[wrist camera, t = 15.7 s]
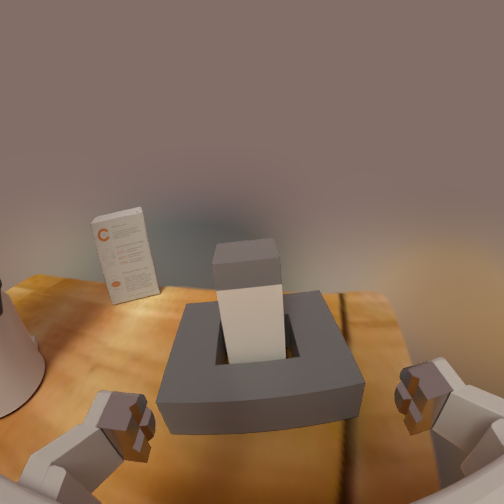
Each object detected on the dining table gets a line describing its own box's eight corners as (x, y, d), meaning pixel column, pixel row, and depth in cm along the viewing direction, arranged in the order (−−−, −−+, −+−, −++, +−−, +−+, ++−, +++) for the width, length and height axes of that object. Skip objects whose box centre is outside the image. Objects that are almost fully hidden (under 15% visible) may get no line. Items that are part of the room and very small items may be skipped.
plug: (234, 390, 24) (212, 264, 20) (235, 358, 28) (217, 243, 24) (287, 385, 24) (280, 257, 20) (281, 353, 28) (273, 237, 24)
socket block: (171, 433, 19) (155, 402, 18) (193, 333, 33) (186, 303, 32) (357, 416, 19) (365, 382, 18) (318, 320, 33) (319, 290, 32)
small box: (156, 279, 49) (142, 205, 45) (161, 294, 43) (143, 211, 39) (113, 290, 46) (94, 216, 42) (111, 306, 41) (89, 223, 36)
